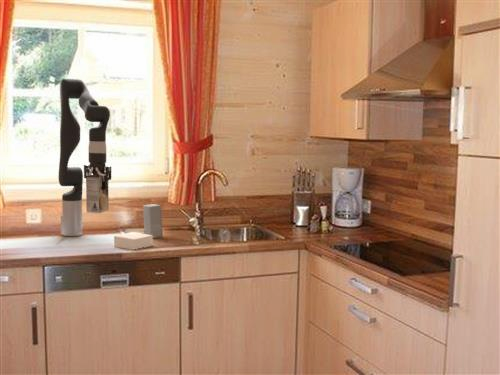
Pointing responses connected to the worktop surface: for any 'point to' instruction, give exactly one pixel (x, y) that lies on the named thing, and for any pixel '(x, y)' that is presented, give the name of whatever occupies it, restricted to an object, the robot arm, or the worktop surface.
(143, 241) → the cream block
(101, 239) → the worktop surface
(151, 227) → the skincare box
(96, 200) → the coffee box
